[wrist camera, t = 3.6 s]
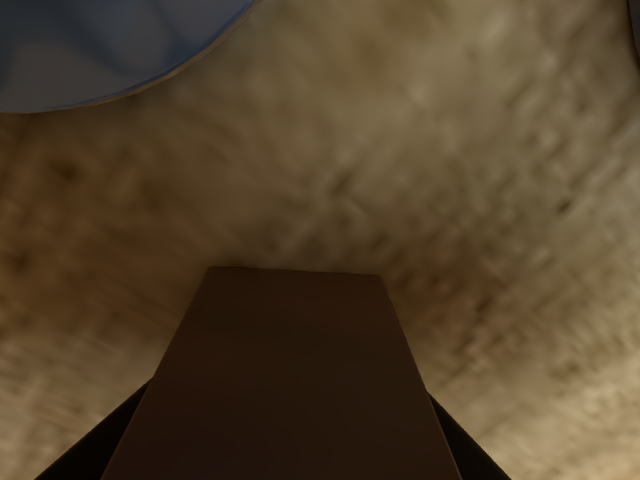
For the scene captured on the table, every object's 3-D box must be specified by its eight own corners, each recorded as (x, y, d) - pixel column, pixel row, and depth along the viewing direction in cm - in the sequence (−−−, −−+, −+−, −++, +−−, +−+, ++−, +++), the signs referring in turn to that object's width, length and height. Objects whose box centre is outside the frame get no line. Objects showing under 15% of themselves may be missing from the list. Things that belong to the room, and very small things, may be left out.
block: (215, 393, 10) (127, 701, 5) (208, 265, 8) (65, 539, 3) (359, 397, 10) (411, 690, 5) (381, 274, 8) (488, 537, 3)
